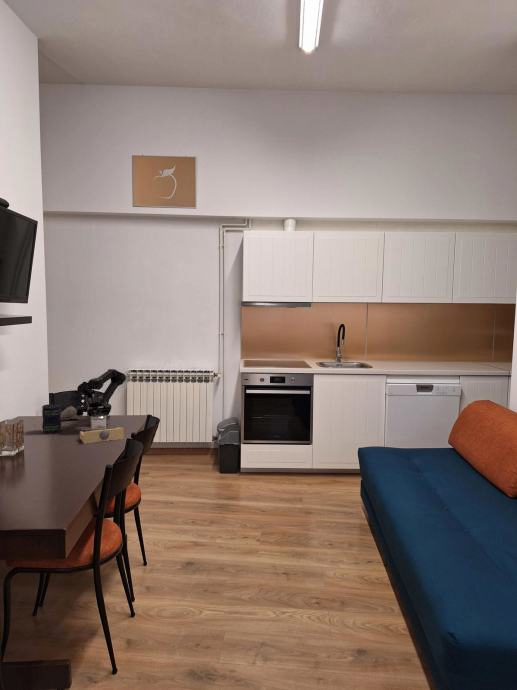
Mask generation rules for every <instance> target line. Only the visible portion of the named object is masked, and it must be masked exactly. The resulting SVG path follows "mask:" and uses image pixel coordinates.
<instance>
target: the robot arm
mask: <svg viewBox="0 0 517 690" xmlns="http://www.w3.org/2000/svg"><path fill="white" fill-rule="evenodd" d="M126 379H127V376H126V374H125V373H123V372H120V371H118V369H114V368H109V369H107V371H105V372H103V373H102V374H101V375H99V376H98V377H95V378H94V377H93V378H91V379H89V380H88V382H87V381H82V383H80V384H79V385H78V386H77V389H76V390H77V392H78V393H80V394H81V395H82V396H83V397H86V405H87V407H86V408H85V405H80V406H79V405H78V406H77V407H75V409H76V415H77V416H80V415H83V416H84V414H83V413H86V416H87V417H90V416H92V415H97V414H103V415H107V416H108V415H110V413H111V411H112V408H113V407H112V404H111V403H108V402H109V401H110V399H111V398H112V397H113V395H114V393H115V392H116V390H117V388H118V387H119V386H121V385H123V384H124V383H125V382H126ZM109 380H110V383H109V384H108V385H107V387H106V389H105V390H104V392H103V394H102V395H98V393H97V392H96V391H99V390H101V389H103V387H104V384H105V383H106V382H108V381H109ZM97 395H98V396H97ZM106 426H108V423H107V422H106Z"/></svg>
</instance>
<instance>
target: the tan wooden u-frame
mask: <svg viewBox="0 0 517 690" xmlns="http://www.w3.org/2000/svg"><path fill="white" fill-rule="evenodd" d="M124 431H125V429H124V427H115V428H106V430H97V431H91V430H89V431H79V440H80V441H81V440H82V441H81V442H82V443H83V444H84V445H87V443H88V444H94V443H101V442H102V443H103V441H104V442H110V441H109V440H112V441H117V440H118V439H119V440H124V437H125V436H124Z"/></svg>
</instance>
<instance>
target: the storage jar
mask: <svg viewBox="0 0 517 690" xmlns="http://www.w3.org/2000/svg"><path fill="white" fill-rule="evenodd" d="M61 406H62V404H59V403H49V404H48V403H47V404H44V405H42V406H41V415H42V416H41V417H42V426H41V427H42V434H45V435H54V434H53V433H56V434H59V433H58V432H60V433H61V432H62V421H61V412H62V407H61Z"/></svg>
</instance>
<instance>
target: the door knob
mask: <svg viewBox="0 0 517 690" xmlns="http://www.w3.org/2000/svg"><path fill="white" fill-rule="evenodd" d="M107 416H108V415H103V414H97V415H92V416H89V419H90V431H97V430H106V429H107V425H106V423H107Z"/></svg>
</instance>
